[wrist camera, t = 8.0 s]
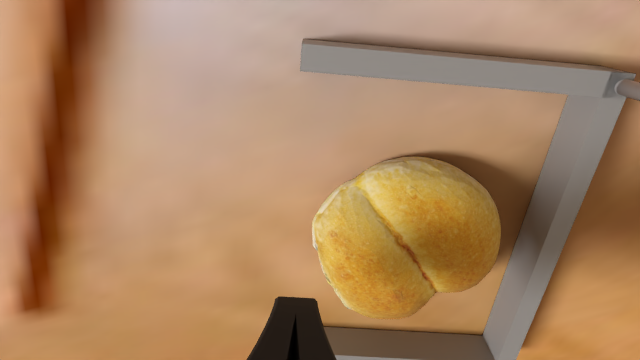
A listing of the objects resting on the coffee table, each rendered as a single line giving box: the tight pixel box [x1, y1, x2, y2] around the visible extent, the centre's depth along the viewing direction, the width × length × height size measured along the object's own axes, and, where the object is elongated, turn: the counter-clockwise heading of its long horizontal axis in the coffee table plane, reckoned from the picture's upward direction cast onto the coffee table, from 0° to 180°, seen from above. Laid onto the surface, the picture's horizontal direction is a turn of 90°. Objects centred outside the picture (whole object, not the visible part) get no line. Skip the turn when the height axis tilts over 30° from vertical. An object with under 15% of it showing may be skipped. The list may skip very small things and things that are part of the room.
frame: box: [300, 39, 640, 360], centre depth 15 cm, size 17×13×12 cm
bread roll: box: [312, 157, 501, 319], centre depth 19 cm, size 8×9×4 cm
